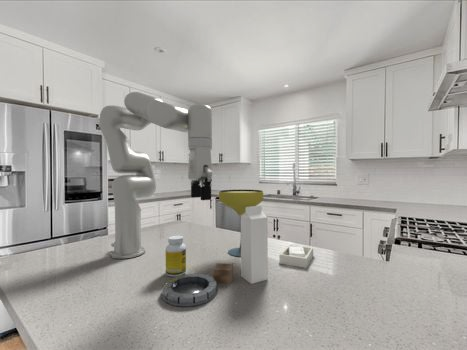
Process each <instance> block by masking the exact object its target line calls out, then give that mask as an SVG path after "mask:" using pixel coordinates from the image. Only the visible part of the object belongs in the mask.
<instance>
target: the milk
mask: <svg viewBox="0 0 467 350" xmlns="http://www.w3.org/2000/svg"><path fill="white" fill-rule="evenodd" d="M262 209H263V207H262V205H256V206H253V207H246V212H245V213H244V214H243V215H242V216H240V240H241V257H240V277H241V278H243V279H244V280H246V281H247V282H248V283H249V284H251V285H253V284H257V283H260V282H264V281H267V280H268V279H269V267H268V265H269V260H268V259H269V258H268V257H269V253H268V252H269V251H268V249H269V248H268V245H269V244H268V243H269V242H268V237H269V236H268V233H269V232H268V227H269V226H268V216H267V215H266V214H265V212H264V211H263V210H262Z"/></svg>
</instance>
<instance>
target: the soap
mask: <svg viewBox="0 0 467 350" xmlns="http://www.w3.org/2000/svg"><path fill="white" fill-rule="evenodd" d="M303 247H304V246H303ZM303 247H295V246H290V247H289V255H290V256H296V257H303V258H305V253H304V249H303Z"/></svg>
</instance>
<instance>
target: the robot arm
mask: <svg viewBox="0 0 467 350" xmlns="http://www.w3.org/2000/svg"><path fill="white" fill-rule="evenodd" d="M123 102H124V106H125V107H123V106H119V105H105V107H104V106H103V108H102V109H101V110H100V113H99V128H100V130H101V133H102V135H103V137H104V139H105V143H106V147H107V151H108V157H109V160H110V164H111V167H112V170H113V171H114V173H117V174H125V175H120V176H117V177H115V178H114V179H113V180H112V183H111V192H112V196H113V202H114V240H115V241H114V242H112V243H111V244H110V245H111V247H112V248H114V250H112V251H111V253H110V257H111V258H113V259H117V260H118V259H119V260H121V259H122V260H123V259H131V258H135V257H138V256H142V255H143V254H144V253H145V252H146V248H145V247H143V246H142V218H141V217H142V216H141V215H142V214H141V212H142V210H141V207H140V204H139V203H138V201H137V200H136V199H141V198H147V197H152V196H153V195H154V194H155V192H156V191H157V184H156V178H155V174H154V170H153V165H152V162H151V159H150V157H149V155H147V154H146V153H145V152H142V151H137V150H136V151H135V150H132V147H131V145H130V141H129V139H128V137H127V136H126V133H125V132H124V131H122V130H121V129H125V130H131V131H142V130H144V129H146V128H147V127H148V126H150V124H153V125H156V126H158V127H161V128H163V129H166V130H167V129H168V130H173V131H179V132H182V133H187V139H188V140H187V141H188V143H187V145H188V147H187V149H188V150H189V157H188V171H187V176H188V178H187V179H189V180H190V197H191V198H200V200H201V201H211V200H212V182H213V178H212V177H213V170H212V169H213V167H212V152H211V151H212V150H213V123H212V122H213V117H212V116H213V113H212V108H211V107H210V106H209V105H206V104H202V103H201V104H199V103H197V104H196V103H195V104H192V105H190V106H189V107H188V109H186V108H183V107H180V106H176V105H173V104H169V103H167V102H163V100H162V99H161V98H159V97H158V98H157V97H156V96H151V95H148V94H145V93H142V92H140V91H139V92H138V91H132V92H129V93H128V94H126V96H124V101H123Z"/></svg>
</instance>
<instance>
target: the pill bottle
mask: <svg viewBox="0 0 467 350" xmlns="http://www.w3.org/2000/svg"><path fill="white" fill-rule="evenodd" d="M167 240H168V244H167V245H166V247H165V274H166V276H169V277H172V278H174V277H176V276H181V275H185V273H186V272H187V246H186V244H185V243H183V242H184V236H182V235H171V236H169V237H168V239H167Z"/></svg>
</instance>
